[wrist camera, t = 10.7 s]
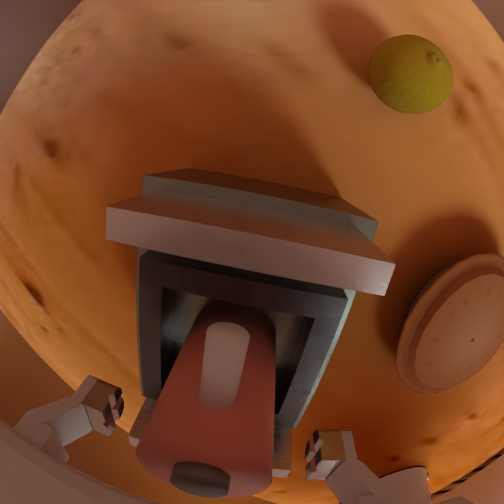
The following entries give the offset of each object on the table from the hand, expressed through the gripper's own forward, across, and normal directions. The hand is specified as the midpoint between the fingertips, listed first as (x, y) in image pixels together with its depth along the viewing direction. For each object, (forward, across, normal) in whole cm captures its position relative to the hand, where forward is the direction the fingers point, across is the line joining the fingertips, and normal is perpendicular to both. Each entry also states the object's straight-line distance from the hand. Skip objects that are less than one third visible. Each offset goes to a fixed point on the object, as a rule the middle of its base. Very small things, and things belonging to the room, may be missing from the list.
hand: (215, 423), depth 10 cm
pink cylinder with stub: (+6, 0, -1) cm, 7 cm away
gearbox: (+14, 0, +2) cm, 15 cm away
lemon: (+15, -8, -18) cm, 25 cm away
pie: (+15, -21, 0) cm, 26 cm away
